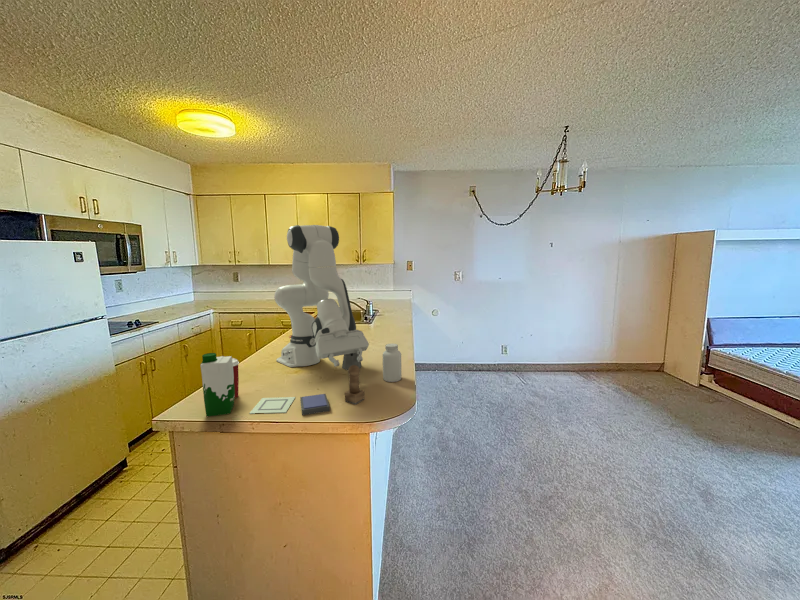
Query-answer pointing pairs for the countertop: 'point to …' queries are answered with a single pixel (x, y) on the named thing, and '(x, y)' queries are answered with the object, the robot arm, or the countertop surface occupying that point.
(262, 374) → the countertop surface
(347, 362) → the coffeepot
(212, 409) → the milk carton
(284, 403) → the card
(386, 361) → the pill bottle
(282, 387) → the countertop surface
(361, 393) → the stamp
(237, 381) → the paper cup
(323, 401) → the ink pad
